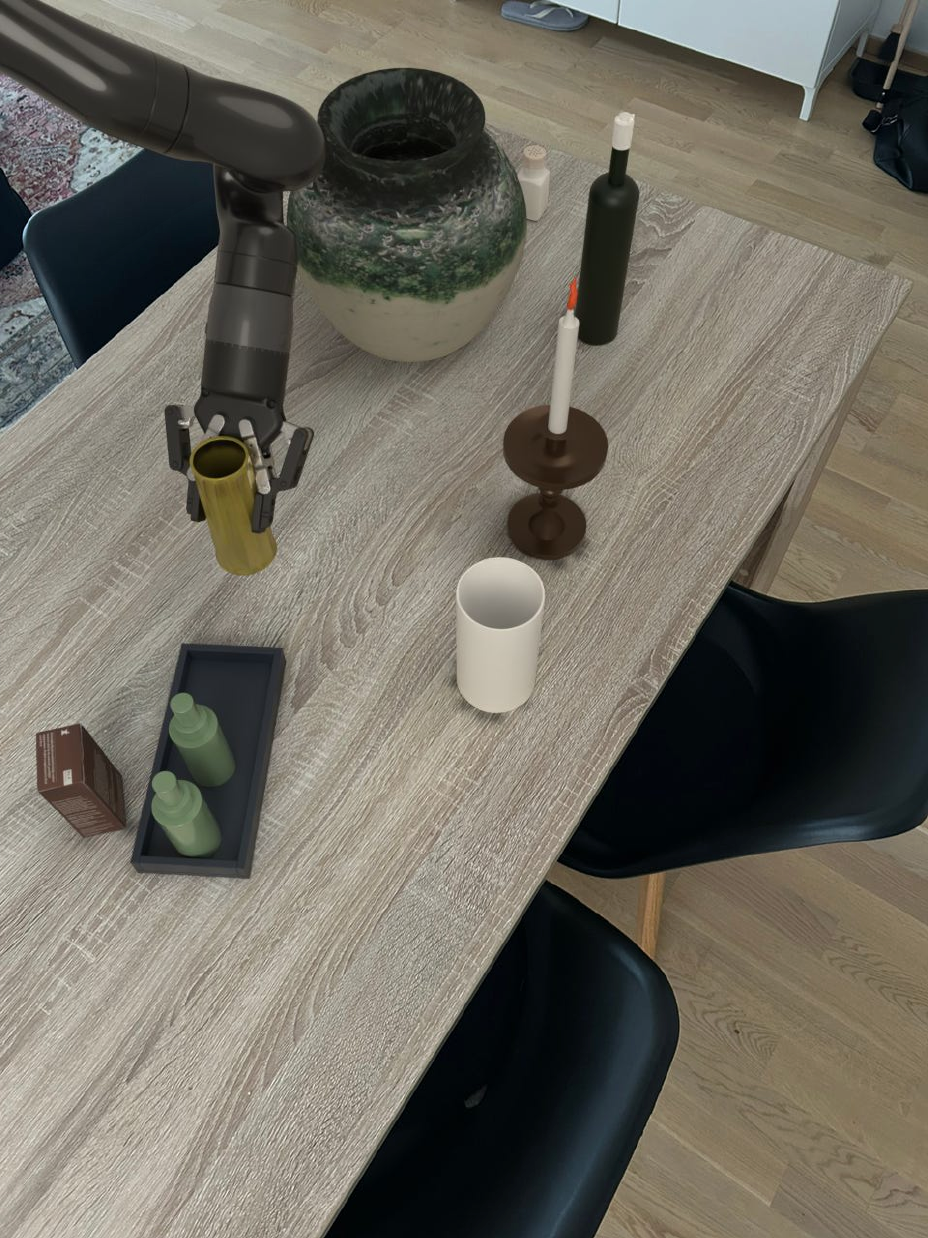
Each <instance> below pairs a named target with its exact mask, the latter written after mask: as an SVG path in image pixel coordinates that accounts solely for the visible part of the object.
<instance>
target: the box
mask: <svg viewBox="0 0 928 1238" xmlns="http://www.w3.org/2000/svg"><path fill="white" fill-rule="evenodd" d="M35 759H36V760H35V761H36V788H37V789H36V791H37V793H38V794H39V795H40V796H41V797H42V798H43V799H44V800H45V801H46V802H48V803H49V804H50V806H51V807H52V808H54V810H56V812H57V813H58V814H59V815H60V816H61V817H62V818H63V819H64V820H65V821H66V822H67V823H68V825H70V826H71V827H72V828H73V829H74V830H75V832H77V833H78V834H79V835H80V836H81V837H82V838H84V839H85V838H88V837H93V836H99V835H103V834H107V833H111V832H116V831H120V830H124V829H126V813H125V812H126V811H125V797H124V785H123V775H122V774H121V772H120V771H119V770H118V768H117V767H116V766H115V764H114V763H113V762H112V761H111V760H110V759H111V758H109V757H108V756H107V754H106V753H105V751H104V750H103V749H102V748H101V747H100V745H99V744H98V743H97V742H96V740H95V739H94V738H93V736H92V735H91V733H90V732H89V731H88V730H87V728H86V727H85V726H84V725H83V723H81V722H78V723H75V724H70V725H67V726H62V727H61V726H60V727H57V728H52V729H48V730H43V731H39V732H36V733H35Z"/></svg>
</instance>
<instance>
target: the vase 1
mask: <svg viewBox="0 0 928 1238" xmlns="http://www.w3.org/2000/svg"><path fill="white" fill-rule="evenodd" d="M200 442H201V441H200ZM200 442H199V443H198V444H197V445H196V446H195V447H194V448H193V449H192V450H191V456H190V466H191V469H192V472H193V475H194V478H195V481H196V484H197V487H198V491H199V495H200V498H201V502H202V505H203V509H204V512H205V516H206V520H205V521H206V523H207V526H208V529H209V533H210V538H211V541H212V544H213V547H214V554H215V559H216V561H217V563H218V565H219V567H221V568H222V569H223V570H224V571H226V572H227V573H230V574H232V575H234V576H252V575H255V574H257V573H260V572H262V571H264V570H265V569H267V568H269V566H271V564H272V563H273V562H274V560H275V558H276V556H277V552H278V543H277V541H276V538H275V536H274V534H273V530H272V527H271V526H270V527H268V528H266V530H265V532H263V533H260V534H258V533H253V532H252V531H251V528H252V519H253V511H254V502H255V494H256V493H259V490H258V487H257V483H256V480H255V475H254V471H253V466H252V462H251V459H250V456H249V452H248V450H247V447H246V446H245V445H244V444H243V443H242V442H241V441H239V440H238V439H236V438H233V437H227V436H217V437H212V438H209V439H206V440H204V441H202V442H201V443H200Z"/></svg>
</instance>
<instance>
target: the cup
mask: <svg viewBox="0 0 928 1238" xmlns="http://www.w3.org/2000/svg"><path fill="white" fill-rule="evenodd" d="M545 604H546V591H545V586H544V583H543V581H542V578H541V576H539V574H538V573H537V572H536V571H535V570H534V568H532V567H531V566H529V565H528V564H526V563H524V562H523V561H520V560H518V559H515V558H510V557H505V556H504V557H503V556H500V557H499V556H498V557H497V556H496V557H489V558H485V559H482V560H480V561H477V562H475V563H474V564H472V565H471V566H469V567H468V568H467V569H466V570H465V571H464V572H463V574H462V575H461V576H460V578H459V580H458V582H457V586H456V591H455V627H456V628H455V629H456V630H455V632H456V633H455V636H456V640H455V641H456V683H457V687H458V690H459V693H460V694H461V696H462V697H463V698H464V700H466V702H467V703H468V704H470V705H471V706H472V707H474V708H475V709H478V710H480V711H483V712H486V713H492V714H502V713H507V712H511V711H513V710H516V709H518V708H520V707H521V706H522V705H524V704H525V703H526V702H527V701H528V700H529V699H530V697H531V695H532V694H533V691H534V689H535V685H536V678H537V670H538V662H539V655H540V654H539V653H540V645H541V638H542V637H541V636H542V629H543V620H544V612H545Z"/></svg>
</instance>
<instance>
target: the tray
mask: <svg viewBox="0 0 928 1238" xmlns="http://www.w3.org/2000/svg"><path fill="white" fill-rule="evenodd" d="M286 659H287V658H286V655H285V651H284V648H283V647H274V646H273V647H271V646H254V645H253V646H251V645H250V646H249V645H233V644H231V645H230V644H229V645H228V644H212V643H209V644H208V643H191V642H190V643H188V642H187V643H185V642H182V643H181V644H180V649H179V652H178V656H177V660H176V661H177V662H176V665H175V669H174V674H173V678H172V682H171V686H170V691H169V695H168V699H167V703H166V708H165V713H164V717H163V720H162V725H161V730H160V734H159V737H158V738H159V739H158V741H157V747H156V751H155V755H154V758H153V764H152V768H151V772H150V777H149V780H148V783H147V789H146V793H145V798H144V801H143V805H142V806H143V807H142V810H141V815H140V818H139V824H138V828H137V833H136V835H135V841H134V845H133V849H132V853H131V858H130V861H129V862H130V865H131V866H132V867H133V869H135V871H136V873H138V874H151V875H152V874H154V875H172V876H189V877H205V878H206V877H208V878H227V879H242V880H243V879H245V880H249V879H251V873H252V868H253V860H254V856H255V849H256V843H257V838H258V832H259V827H260V819H261V814H262V808H263V802H264V797H265V791H266V785H267V778H268V774H269V773H268V772H269V766H270V761H271V755H272V749H273V745H274V744H273V742H274V737H275V733H276V732H275V731H276V725H277V721H278V720H277V719H278V713H279V709H280V703H281V697H282V696H281V695H282V689H283V686H284V685H283V684H284V678H285V673H286V667H287V660H286ZM179 693H187V694H189V695H191V696H192V698H193V700H194V702H195V704H197V705H202V706H205V707H208V708H209V709H211V710H212V711H213V712H214V714H215V715H216V717H217V719H218V722H219V724H220V726H221V729H222V731H223V733H224V735H225V738H226V740H227V742H228V744H229V747H230V749H231V751H232V754H233V756H234V758H235V770H234V773H233V775H232V776H231V777H230V779H229V780H228V781H226V782H225V783H224V784H222V785H219V786H216V787H204V786H201V785H199V784H198V783H197V782H196V781H195V780H194V779H193V777H192V776H191V774H190V772H189V770H188V768H187V766H186V764H185V763H184V761H183V759H182V757H181V755H180V753H179V752H178V750H177V748H176V746H175V744H174V742H173V740H172V739H171V737H170V734H169V725H170V722H171V720H172V718H173V716H174V712H173V710H172V708H171V705H170V704H171V700H172V698H173V697H174V696H175V695H177V694H179ZM162 771H169V772H171V773H173V774H174V775H175V777H176V779H177V780H185V781H189V782H191V783H193V784H194V785H196V786H197V787H198V789H199V790H200V792H201V794H202V796H203V798H204V799H205V801H206V803H207V805H208V807H209V809H210V811H211V812H212V814H213V816H214V818H215V820H216V822H217V824H218V825H219V827H220V829H221V833H222V839H221V844H220V846H219V848H218V850H217V851H216V852H215V853H214V854H213V855H212V856H211V857H209V858H207V859H197V858H182V857H181V856H180V855H179V854H178V852H177V851H176V849H175V848H174V846H173V845H172V843H171V842H170V840H169V839H168V837H167V836H166V834H165V833H164V831H163V830H162V828H161V827H160V825H159V824H158V822H157V821H156V819H155V818H154V816H153V814H152V809H151V805H152V800H153V798H154V795H155V794H156V792H155V791H154V789H153V787H152V780H153V778H154V777H155V775H157V774H158V773H160V772H162Z"/></svg>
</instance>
